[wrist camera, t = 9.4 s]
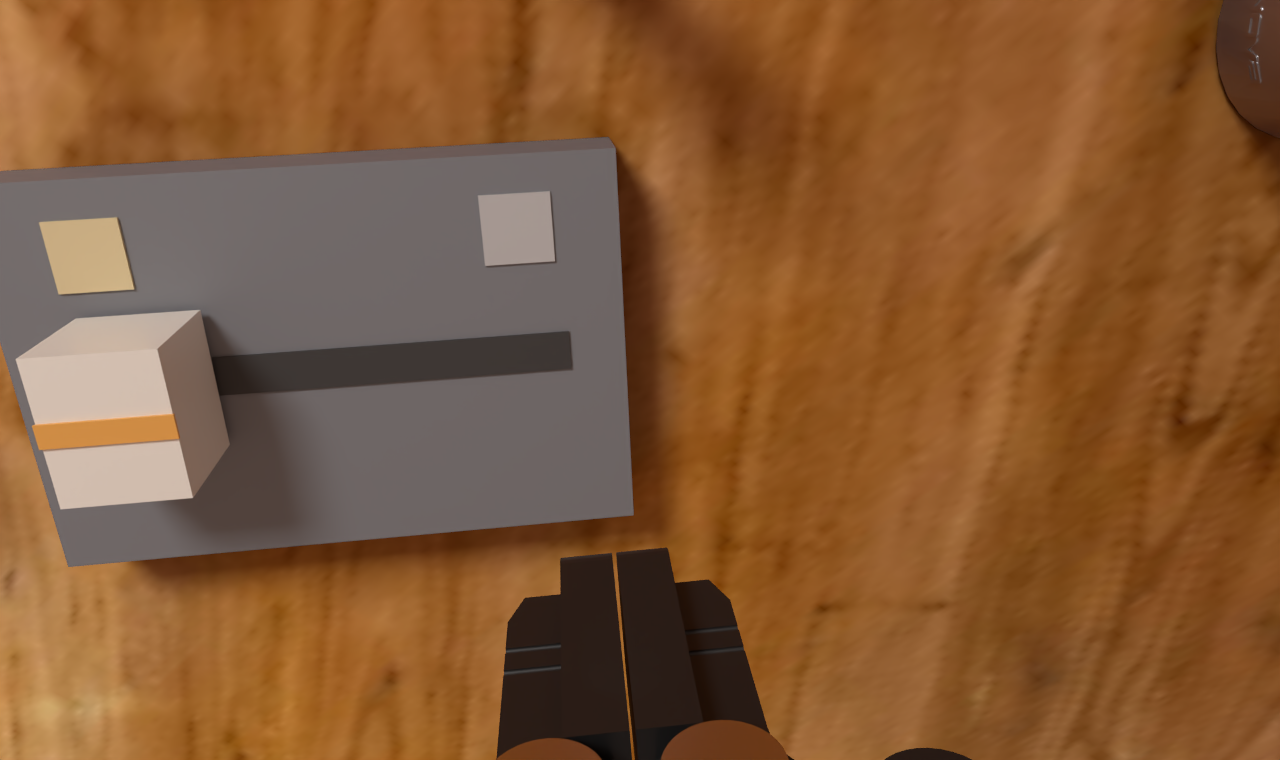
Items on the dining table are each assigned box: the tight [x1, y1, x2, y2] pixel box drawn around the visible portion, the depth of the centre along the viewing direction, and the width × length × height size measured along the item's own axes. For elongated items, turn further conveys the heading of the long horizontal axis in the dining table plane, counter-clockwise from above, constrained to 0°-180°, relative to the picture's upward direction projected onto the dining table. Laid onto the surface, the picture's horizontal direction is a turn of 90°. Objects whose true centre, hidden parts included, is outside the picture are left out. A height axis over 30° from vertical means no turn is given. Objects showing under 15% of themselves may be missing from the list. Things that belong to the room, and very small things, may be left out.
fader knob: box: [16, 310, 230, 509], centre depth 31 cm, size 4×5×4 cm
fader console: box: [0, 137, 634, 567], centre depth 35 cm, size 21×14×3 cm, turn 92°
